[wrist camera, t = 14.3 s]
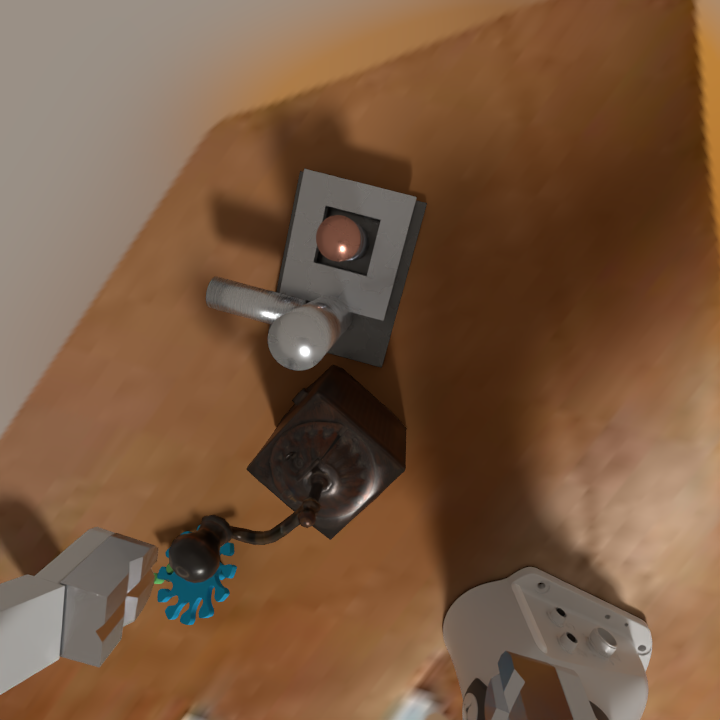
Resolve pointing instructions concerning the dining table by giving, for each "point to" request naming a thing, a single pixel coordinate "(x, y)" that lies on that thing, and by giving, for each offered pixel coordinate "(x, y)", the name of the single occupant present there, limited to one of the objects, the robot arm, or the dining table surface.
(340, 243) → the pin
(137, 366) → the dining table surface
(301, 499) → the dark brown coffee grinder
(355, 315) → the pipe elbow on plate
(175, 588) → the gear
